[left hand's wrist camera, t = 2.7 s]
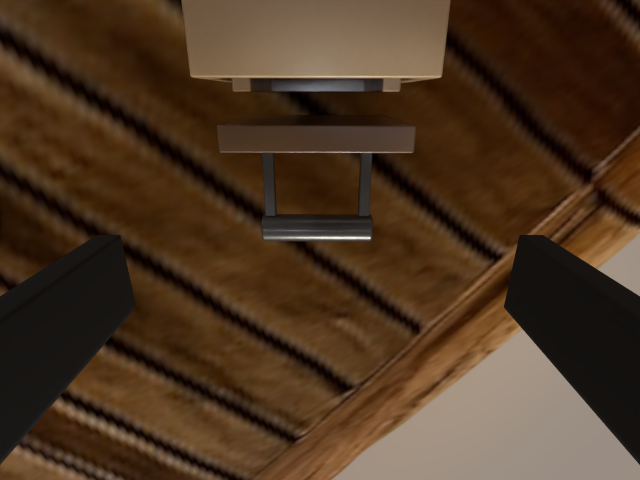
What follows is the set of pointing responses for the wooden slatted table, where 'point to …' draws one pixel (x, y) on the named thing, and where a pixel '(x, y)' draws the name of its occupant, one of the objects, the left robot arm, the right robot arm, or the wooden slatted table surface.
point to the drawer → (316, 150)
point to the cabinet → (316, 38)
